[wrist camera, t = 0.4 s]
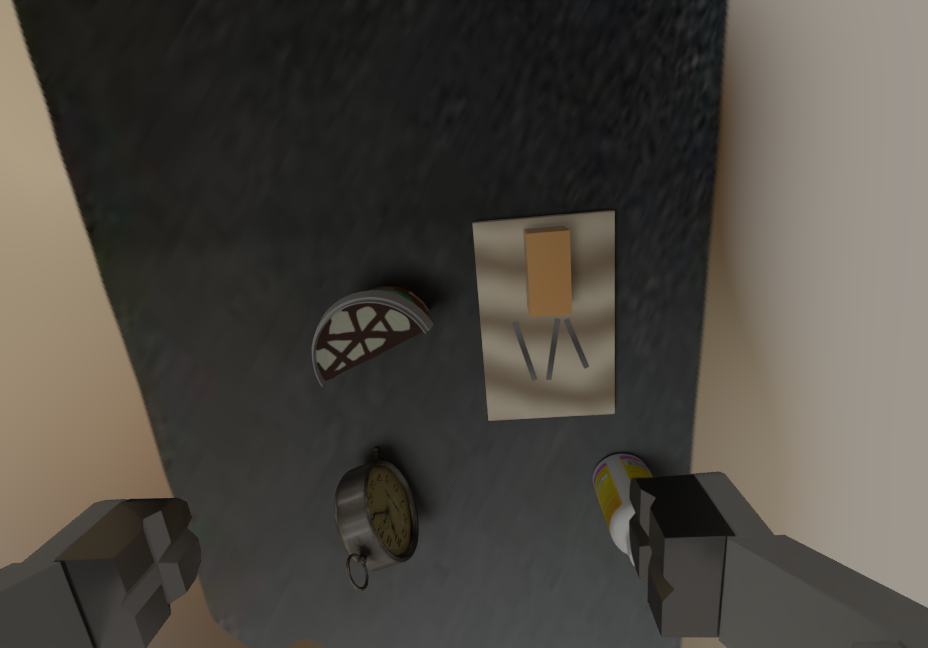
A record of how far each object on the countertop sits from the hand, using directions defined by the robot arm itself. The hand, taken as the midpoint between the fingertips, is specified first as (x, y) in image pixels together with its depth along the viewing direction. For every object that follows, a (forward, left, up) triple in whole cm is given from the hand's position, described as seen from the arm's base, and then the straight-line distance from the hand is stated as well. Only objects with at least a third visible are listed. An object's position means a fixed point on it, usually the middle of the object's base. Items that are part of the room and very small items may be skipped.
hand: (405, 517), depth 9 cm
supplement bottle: (+30, +15, -44) cm, 55 cm away
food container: (+7, -11, -44) cm, 46 cm away
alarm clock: (+29, -13, -44) cm, 54 cm away
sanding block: (+4, +7, -43) cm, 43 cm away
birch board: (+10, +7, -44) cm, 46 cm away
